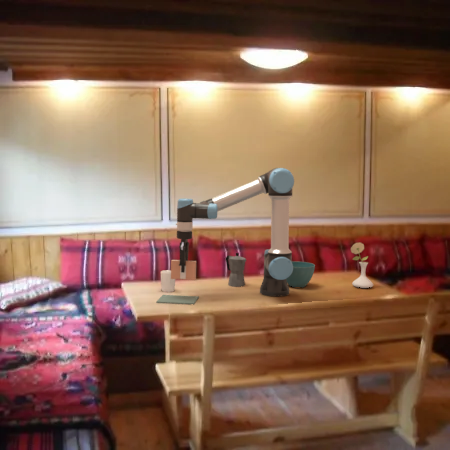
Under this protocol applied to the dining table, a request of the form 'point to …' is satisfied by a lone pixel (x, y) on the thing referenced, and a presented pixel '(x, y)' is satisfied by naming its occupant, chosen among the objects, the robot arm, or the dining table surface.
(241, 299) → the dining table surface
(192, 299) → the mat
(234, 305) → the dining table surface
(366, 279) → the flower in vase
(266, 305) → the dining table surface
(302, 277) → the teal bowl
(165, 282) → the white cup
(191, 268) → the plaque
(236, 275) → the coffeepot
